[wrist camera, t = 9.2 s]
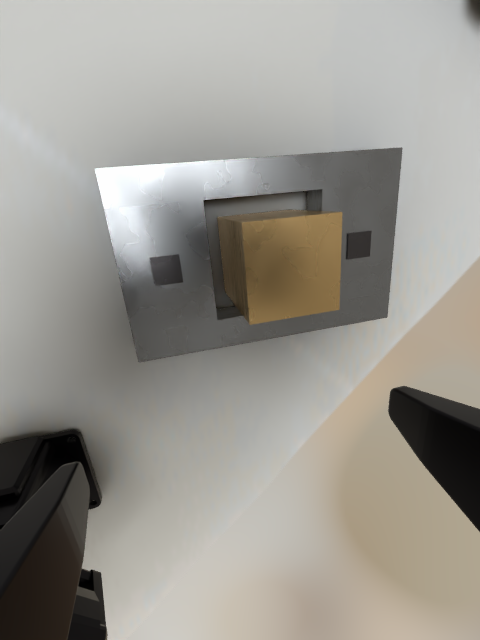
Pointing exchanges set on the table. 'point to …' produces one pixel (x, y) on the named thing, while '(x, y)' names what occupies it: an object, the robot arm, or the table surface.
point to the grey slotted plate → (193, 249)
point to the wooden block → (282, 263)
